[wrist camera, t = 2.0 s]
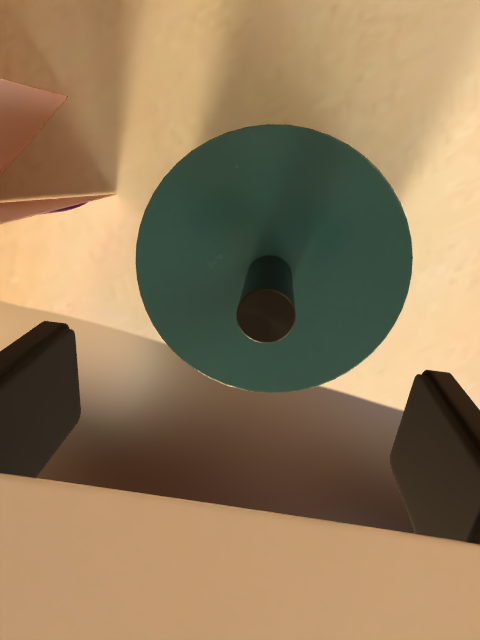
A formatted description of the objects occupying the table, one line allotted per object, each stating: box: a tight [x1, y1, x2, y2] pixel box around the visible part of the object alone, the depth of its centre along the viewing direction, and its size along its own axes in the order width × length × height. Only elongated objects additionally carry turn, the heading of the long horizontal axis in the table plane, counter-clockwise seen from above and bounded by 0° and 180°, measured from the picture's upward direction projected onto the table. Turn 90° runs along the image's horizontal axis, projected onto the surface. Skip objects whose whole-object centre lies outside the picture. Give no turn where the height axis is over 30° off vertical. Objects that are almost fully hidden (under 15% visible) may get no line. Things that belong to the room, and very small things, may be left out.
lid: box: [136, 124, 413, 393], centre depth 19 cm, size 15×15×7 cm
